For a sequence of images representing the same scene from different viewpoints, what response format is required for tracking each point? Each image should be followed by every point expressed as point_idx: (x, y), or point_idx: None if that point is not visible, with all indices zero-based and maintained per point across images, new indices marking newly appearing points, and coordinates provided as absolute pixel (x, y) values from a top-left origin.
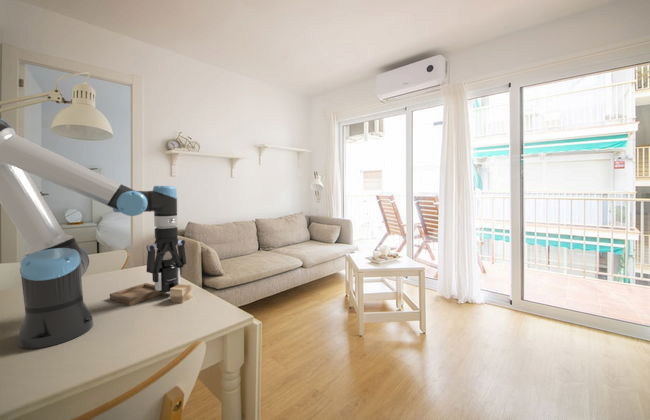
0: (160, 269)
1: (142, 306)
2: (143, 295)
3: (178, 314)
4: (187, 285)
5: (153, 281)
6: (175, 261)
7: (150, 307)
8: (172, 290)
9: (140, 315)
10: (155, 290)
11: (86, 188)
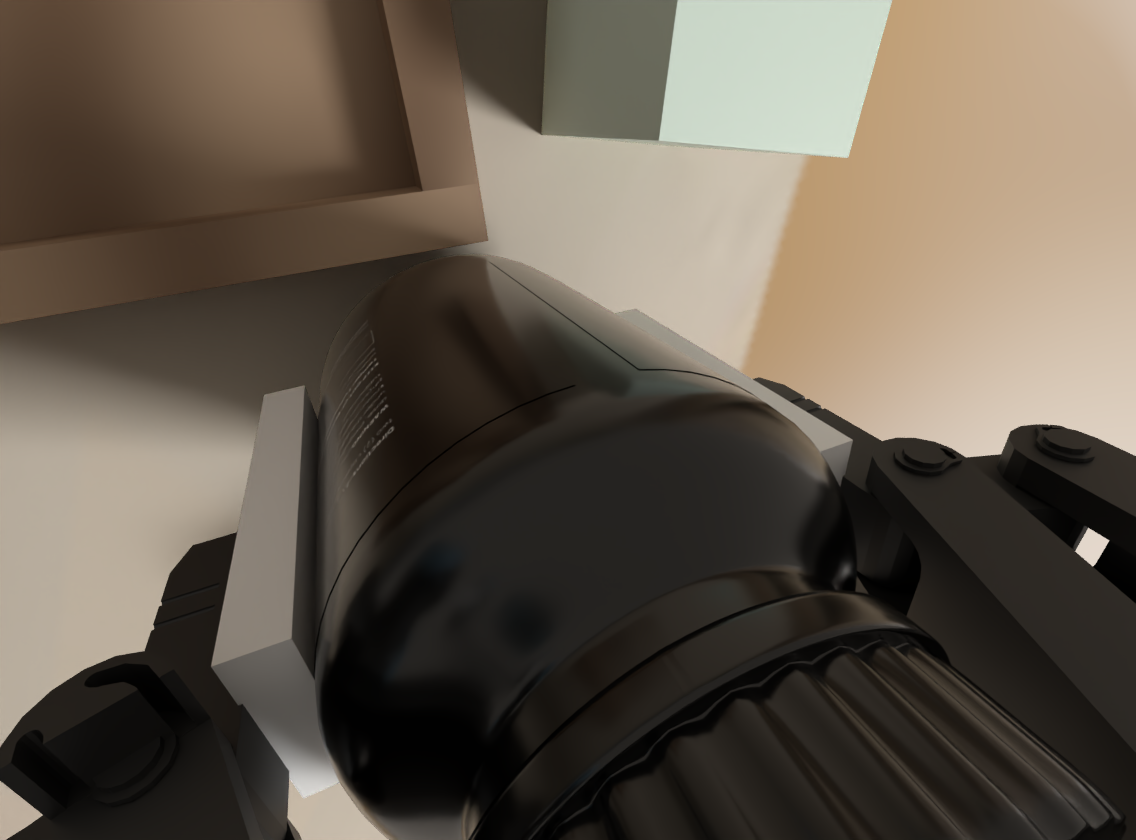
0: (380, 826)
1: (49, 488)
2: (52, 313)
3: (333, 803)
4: None
5: (193, 568)
6: (962, 656)
7: (150, 575)
8: None
9: (3, 711)
10: (315, 219)
11: None
